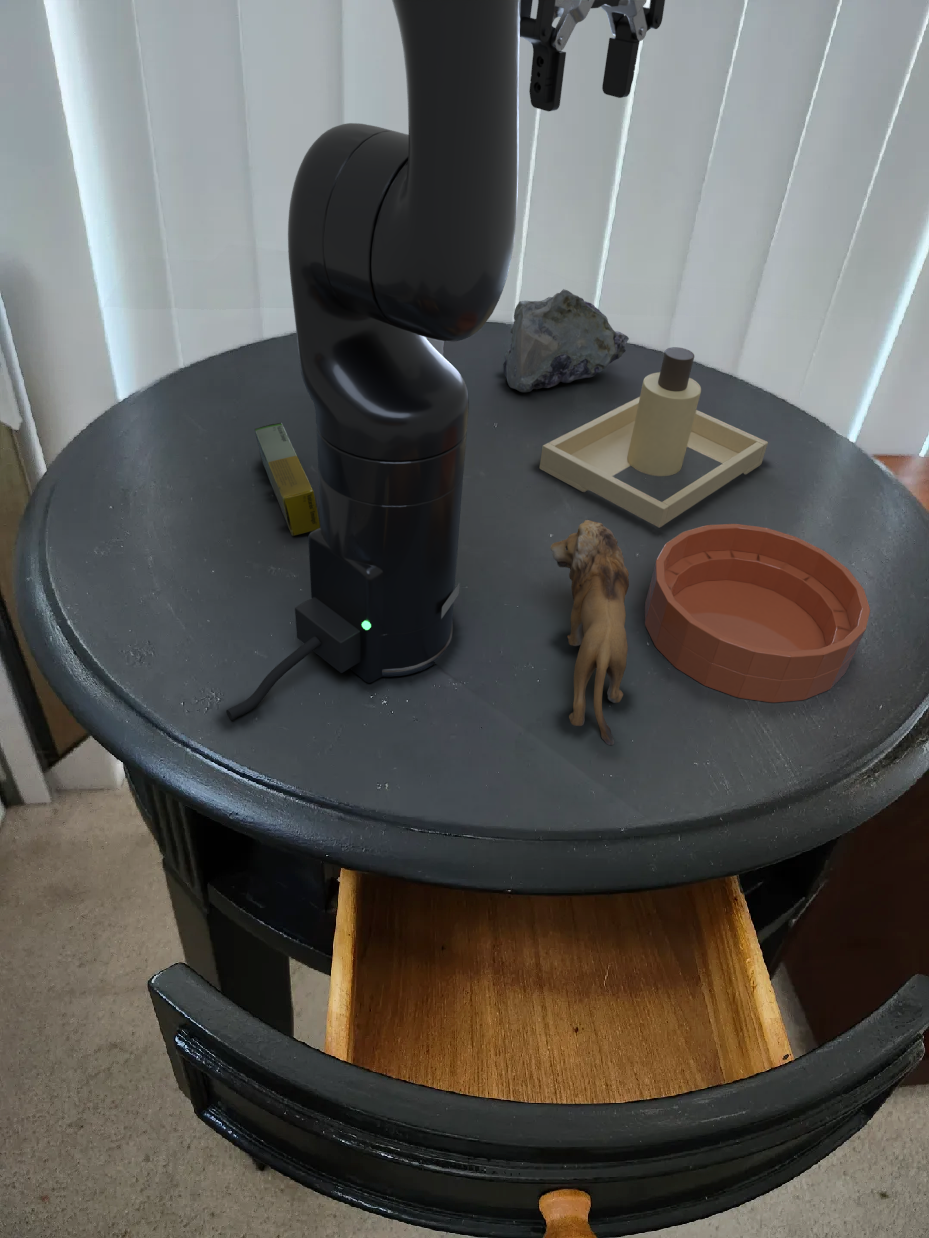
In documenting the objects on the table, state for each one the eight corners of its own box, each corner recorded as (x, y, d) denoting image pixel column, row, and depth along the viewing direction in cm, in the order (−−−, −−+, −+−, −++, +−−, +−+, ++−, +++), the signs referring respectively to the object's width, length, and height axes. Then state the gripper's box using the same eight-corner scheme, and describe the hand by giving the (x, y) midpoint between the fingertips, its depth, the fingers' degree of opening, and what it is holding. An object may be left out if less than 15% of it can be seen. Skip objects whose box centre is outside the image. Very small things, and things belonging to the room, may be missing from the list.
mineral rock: (622, 367, 104) (639, 279, 98) (619, 412, 96) (638, 318, 90) (509, 353, 105) (518, 264, 99) (497, 395, 97) (506, 302, 91)
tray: (658, 533, 80) (664, 509, 78) (539, 468, 87) (542, 445, 85) (761, 464, 90) (768, 442, 88) (647, 411, 97) (652, 389, 95)
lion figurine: (536, 607, 71) (551, 509, 65) (604, 606, 72) (625, 509, 66) (572, 752, 60) (594, 650, 54) (651, 749, 61) (681, 649, 55)
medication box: (261, 465, 84) (252, 426, 81) (290, 459, 84) (282, 420, 82) (290, 537, 75) (282, 496, 73) (322, 530, 76) (315, 489, 73)
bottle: (661, 483, 85) (688, 372, 78) (616, 460, 88) (638, 351, 80) (692, 464, 88) (720, 355, 81) (647, 442, 91) (671, 335, 83)
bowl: (781, 742, 62) (804, 689, 59) (603, 629, 70) (614, 578, 66) (880, 640, 71) (904, 590, 68) (711, 551, 78) (726, 501, 75)
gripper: (637, -181, 64) (599, 83, 75) (500, -196, 56) (479, 102, 67) (729, -174, 61) (675, 102, 71) (597, -189, 53) (558, 125, 63)
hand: (580, 102), depth 69 cm, fingers open, 8 cm apart
